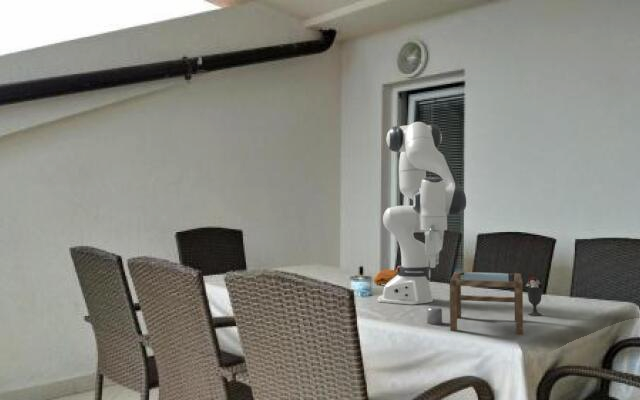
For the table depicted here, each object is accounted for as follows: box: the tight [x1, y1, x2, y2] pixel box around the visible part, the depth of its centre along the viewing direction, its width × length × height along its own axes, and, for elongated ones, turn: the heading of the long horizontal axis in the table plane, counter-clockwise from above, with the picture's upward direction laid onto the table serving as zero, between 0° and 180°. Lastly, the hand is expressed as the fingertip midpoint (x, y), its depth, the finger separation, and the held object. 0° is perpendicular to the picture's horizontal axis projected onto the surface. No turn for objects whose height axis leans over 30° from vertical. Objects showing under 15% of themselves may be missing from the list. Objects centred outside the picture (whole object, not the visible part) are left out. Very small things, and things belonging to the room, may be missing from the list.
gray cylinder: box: [426, 306, 443, 326], centre depth 201 cm, size 5×5×5 cm
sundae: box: [524, 272, 545, 317], centre depth 212 cm, size 7×7×15 cm
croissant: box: [373, 269, 398, 285], centre depth 289 cm, size 14×16×8 cm
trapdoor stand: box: [449, 271, 524, 335], centre depth 196 cm, size 22×22×16 cm
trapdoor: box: [462, 271, 510, 281], centre depth 197 cm, size 14×18×2 cm
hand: (434, 265), depth 200 cm, fingers open, 8 cm apart
